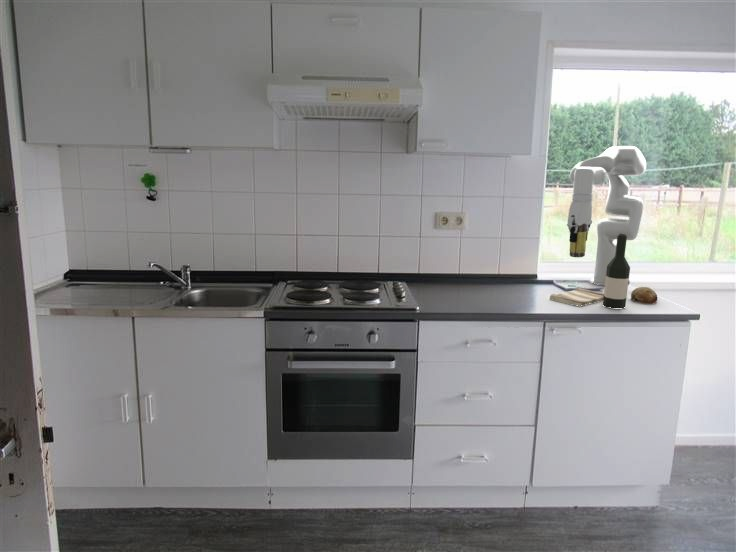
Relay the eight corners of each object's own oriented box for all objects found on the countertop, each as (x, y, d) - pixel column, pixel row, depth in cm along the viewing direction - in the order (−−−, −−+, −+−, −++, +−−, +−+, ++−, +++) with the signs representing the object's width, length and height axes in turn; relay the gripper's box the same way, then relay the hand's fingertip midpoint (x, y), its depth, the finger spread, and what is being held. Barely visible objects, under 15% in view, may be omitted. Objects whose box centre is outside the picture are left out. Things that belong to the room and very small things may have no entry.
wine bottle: (630, 308, 204) (639, 234, 197) (612, 310, 202) (621, 235, 195) (614, 303, 212) (623, 231, 205) (598, 304, 210) (606, 232, 203)
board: (579, 292, 229) (580, 287, 229) (609, 298, 218) (609, 294, 218) (549, 299, 217) (550, 294, 217) (579, 306, 206) (579, 302, 206)
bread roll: (627, 307, 220) (623, 291, 217) (643, 295, 222) (640, 279, 219) (647, 313, 211) (643, 297, 208) (664, 300, 213) (661, 284, 210)
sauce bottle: (586, 256, 215) (591, 209, 211) (582, 258, 211) (587, 210, 206) (570, 254, 219) (575, 208, 215) (566, 256, 214) (570, 209, 210)
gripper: (586, 196, 217) (582, 238, 221) (561, 198, 208) (557, 242, 212) (602, 197, 211) (598, 240, 215) (577, 200, 202) (573, 244, 206)
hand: (578, 240), depth 213 cm, fingers closed on sauce bottle, 6 cm apart
